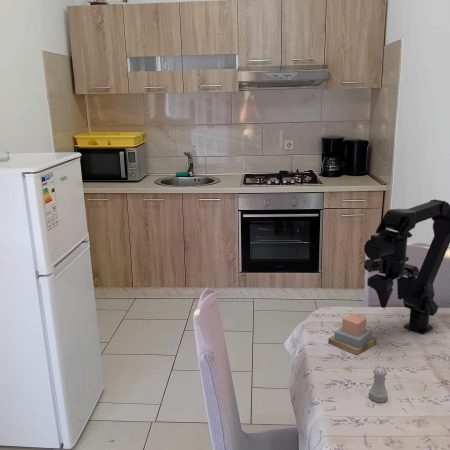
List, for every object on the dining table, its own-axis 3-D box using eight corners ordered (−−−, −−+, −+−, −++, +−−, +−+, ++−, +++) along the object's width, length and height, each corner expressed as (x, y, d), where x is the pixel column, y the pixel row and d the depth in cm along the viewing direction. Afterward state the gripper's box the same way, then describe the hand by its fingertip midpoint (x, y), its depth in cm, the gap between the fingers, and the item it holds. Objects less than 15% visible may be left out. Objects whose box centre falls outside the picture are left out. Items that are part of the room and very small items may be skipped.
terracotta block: (350, 325, 143) (351, 313, 142) (365, 330, 140) (366, 318, 139) (342, 331, 140) (342, 318, 139) (357, 336, 136) (357, 324, 135)
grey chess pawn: (388, 404, 112) (391, 374, 110) (369, 402, 113) (371, 372, 111) (386, 393, 116) (388, 364, 114) (367, 391, 117) (369, 362, 115)
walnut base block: (347, 335, 148) (348, 327, 147) (376, 346, 140) (376, 339, 140) (328, 345, 141) (328, 338, 141) (356, 358, 134) (357, 350, 133)
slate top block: (347, 330, 145) (348, 322, 145) (371, 338, 140) (372, 330, 140) (334, 339, 140) (334, 331, 139) (358, 348, 135) (359, 340, 134)
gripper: (387, 241, 147) (384, 287, 151) (352, 253, 136) (350, 303, 140) (421, 249, 139) (417, 298, 143) (387, 263, 127) (383, 315, 131)
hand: (391, 303), depth 139 cm, fingers open, 9 cm apart
